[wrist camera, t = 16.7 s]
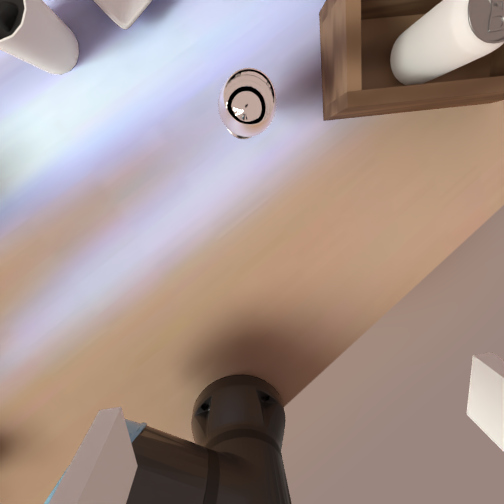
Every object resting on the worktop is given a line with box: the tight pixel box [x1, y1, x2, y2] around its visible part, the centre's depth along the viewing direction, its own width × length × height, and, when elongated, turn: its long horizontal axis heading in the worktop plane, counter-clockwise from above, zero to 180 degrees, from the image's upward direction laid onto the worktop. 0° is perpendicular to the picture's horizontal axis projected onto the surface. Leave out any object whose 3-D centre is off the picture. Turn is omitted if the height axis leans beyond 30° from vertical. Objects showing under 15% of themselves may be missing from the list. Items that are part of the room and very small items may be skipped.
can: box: [390, 0, 504, 85], centre depth 30 cm, size 6×6×12 cm
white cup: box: [0, 0, 79, 75], centre depth 29 cm, size 7×7×10 cm
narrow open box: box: [319, 0, 504, 121], centre depth 33 cm, size 12×23×8 cm, turn 96°
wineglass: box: [218, 68, 277, 139], centre depth 32 cm, size 6×6×12 cm
